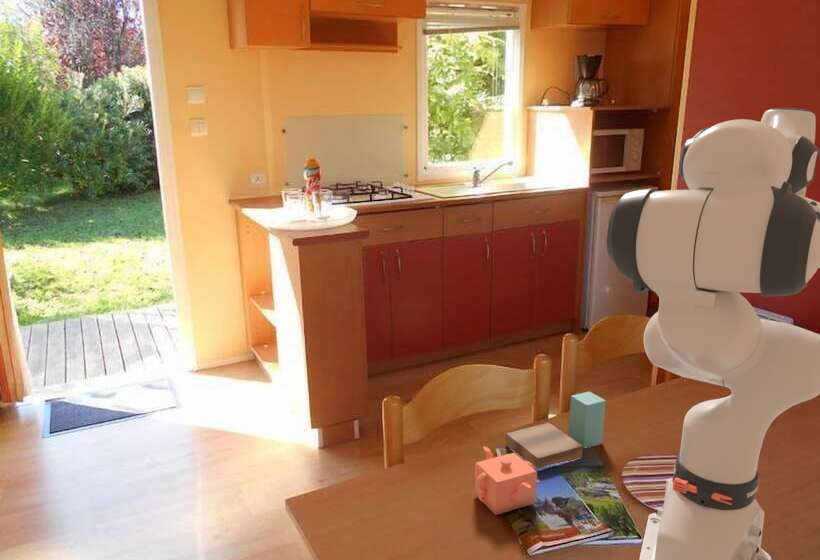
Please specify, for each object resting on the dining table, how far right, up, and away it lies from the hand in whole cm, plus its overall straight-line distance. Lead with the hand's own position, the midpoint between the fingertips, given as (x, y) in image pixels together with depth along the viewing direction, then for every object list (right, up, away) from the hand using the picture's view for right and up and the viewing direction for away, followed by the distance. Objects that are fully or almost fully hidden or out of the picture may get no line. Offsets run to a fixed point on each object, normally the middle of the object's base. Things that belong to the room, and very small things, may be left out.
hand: (759, 282), depth 114 cm
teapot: (-45, -40, +3) cm, 60 cm away
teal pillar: (-25, -34, +23) cm, 48 cm away
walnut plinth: (-34, -35, +19) cm, 53 cm away
